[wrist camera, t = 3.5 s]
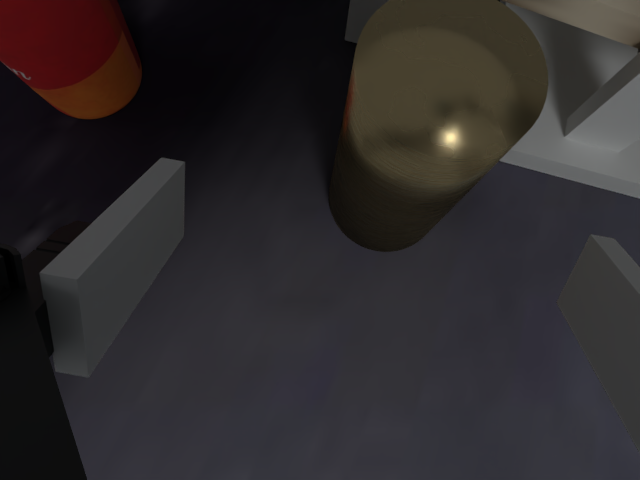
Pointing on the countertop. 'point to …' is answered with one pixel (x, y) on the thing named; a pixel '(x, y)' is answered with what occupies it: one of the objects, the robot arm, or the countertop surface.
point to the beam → (593, 16)
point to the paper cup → (72, 53)
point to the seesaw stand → (572, 104)
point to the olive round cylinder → (430, 114)
